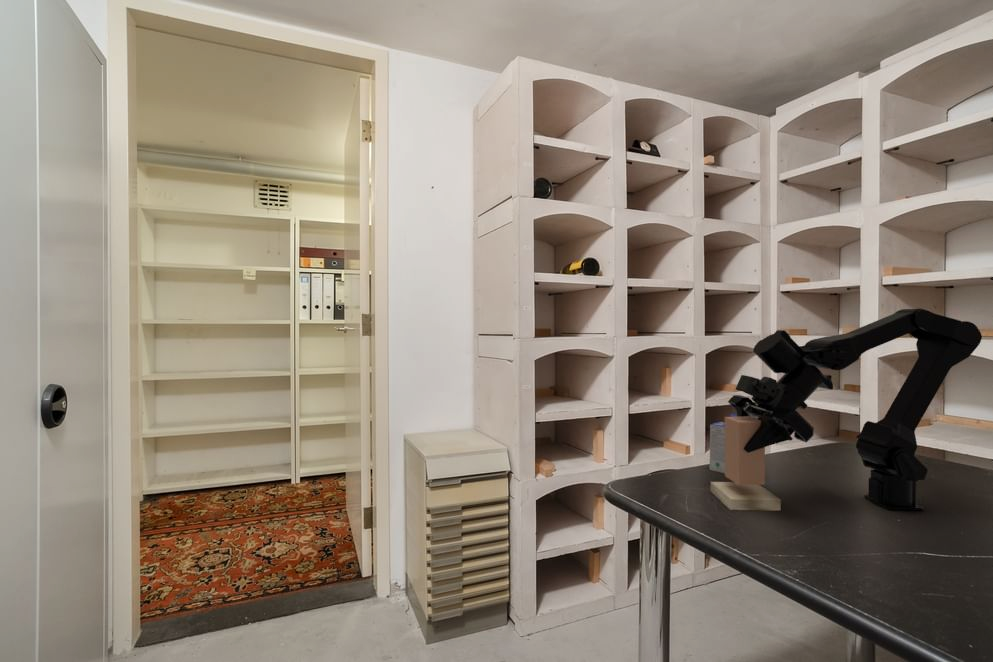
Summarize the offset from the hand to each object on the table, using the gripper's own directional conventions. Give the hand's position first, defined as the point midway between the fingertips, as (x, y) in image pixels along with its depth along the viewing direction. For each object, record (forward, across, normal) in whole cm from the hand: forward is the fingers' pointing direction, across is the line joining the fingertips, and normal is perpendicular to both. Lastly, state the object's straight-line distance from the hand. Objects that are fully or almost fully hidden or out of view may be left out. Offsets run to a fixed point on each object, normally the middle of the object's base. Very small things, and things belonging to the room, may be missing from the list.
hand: (737, 446), depth 89 cm
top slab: (+7, 0, +8) cm, 11 cm away
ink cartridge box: (+2, -16, +15) cm, 22 cm away
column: (+4, 0, +6) cm, 7 cm away
